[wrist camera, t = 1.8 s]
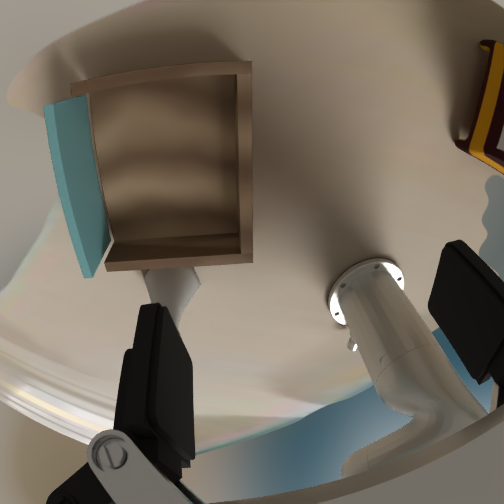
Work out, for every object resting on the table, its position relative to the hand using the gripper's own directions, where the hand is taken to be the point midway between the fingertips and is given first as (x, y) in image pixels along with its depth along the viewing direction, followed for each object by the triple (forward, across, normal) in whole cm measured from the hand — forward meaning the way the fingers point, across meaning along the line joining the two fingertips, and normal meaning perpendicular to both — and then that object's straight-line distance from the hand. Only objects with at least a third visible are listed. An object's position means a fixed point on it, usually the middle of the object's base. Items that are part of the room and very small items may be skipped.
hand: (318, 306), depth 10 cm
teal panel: (+25, +16, 0) cm, 30 cm away
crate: (+26, +8, +2) cm, 27 cm away
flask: (+26, +12, +17) cm, 34 cm away
